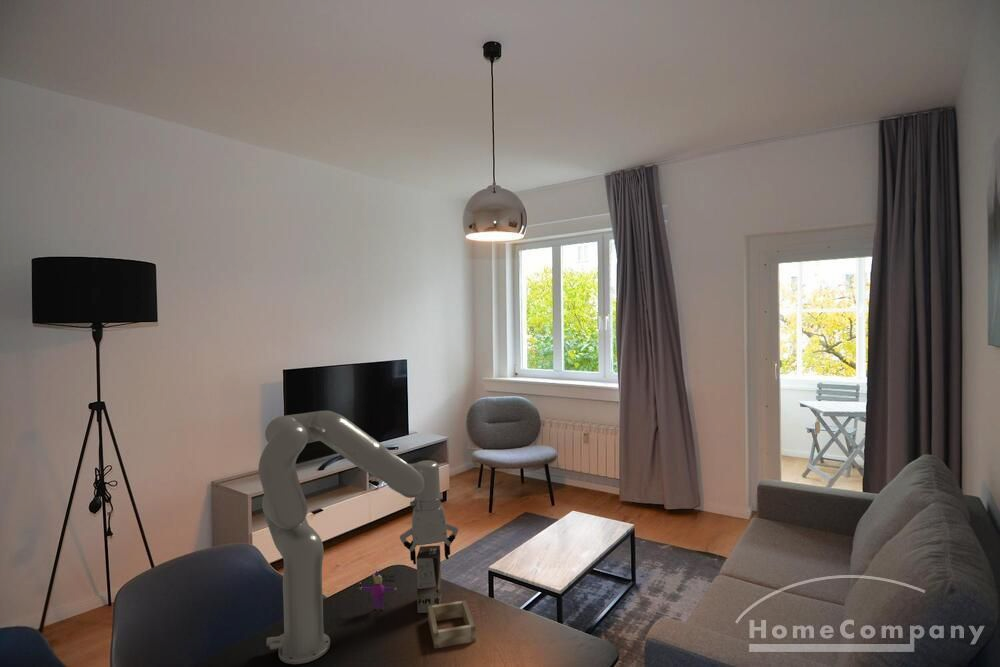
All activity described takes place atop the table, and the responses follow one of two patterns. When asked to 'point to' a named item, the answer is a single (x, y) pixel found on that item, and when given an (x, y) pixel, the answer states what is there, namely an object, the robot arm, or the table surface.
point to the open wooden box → (456, 633)
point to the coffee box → (428, 577)
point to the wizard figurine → (378, 588)
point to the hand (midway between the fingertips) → (430, 559)
